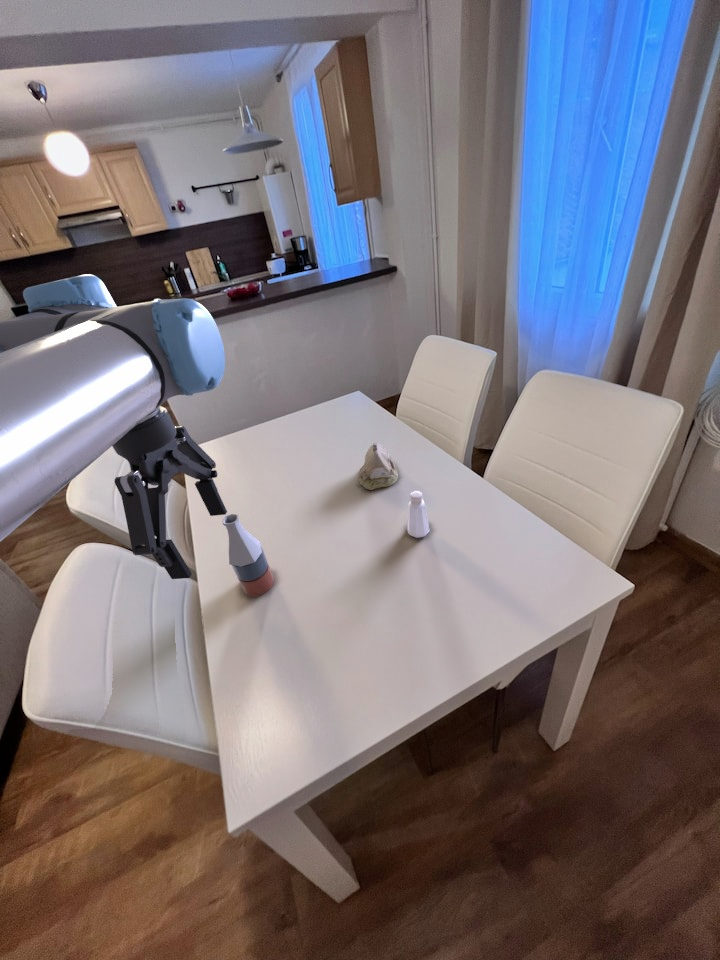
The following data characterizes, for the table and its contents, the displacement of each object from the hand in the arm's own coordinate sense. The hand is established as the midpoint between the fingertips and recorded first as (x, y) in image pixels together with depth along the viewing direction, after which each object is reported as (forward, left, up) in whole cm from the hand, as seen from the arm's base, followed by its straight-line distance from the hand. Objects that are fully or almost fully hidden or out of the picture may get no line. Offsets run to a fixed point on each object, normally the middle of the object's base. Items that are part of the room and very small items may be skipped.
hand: (202, 542), depth 61 cm
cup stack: (+13, +8, -28) cm, 32 cm away
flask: (+13, +8, -19) cm, 24 cm away
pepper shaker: (+39, -21, -28) cm, 52 cm away
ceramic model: (+58, -3, -28) cm, 65 cm away
